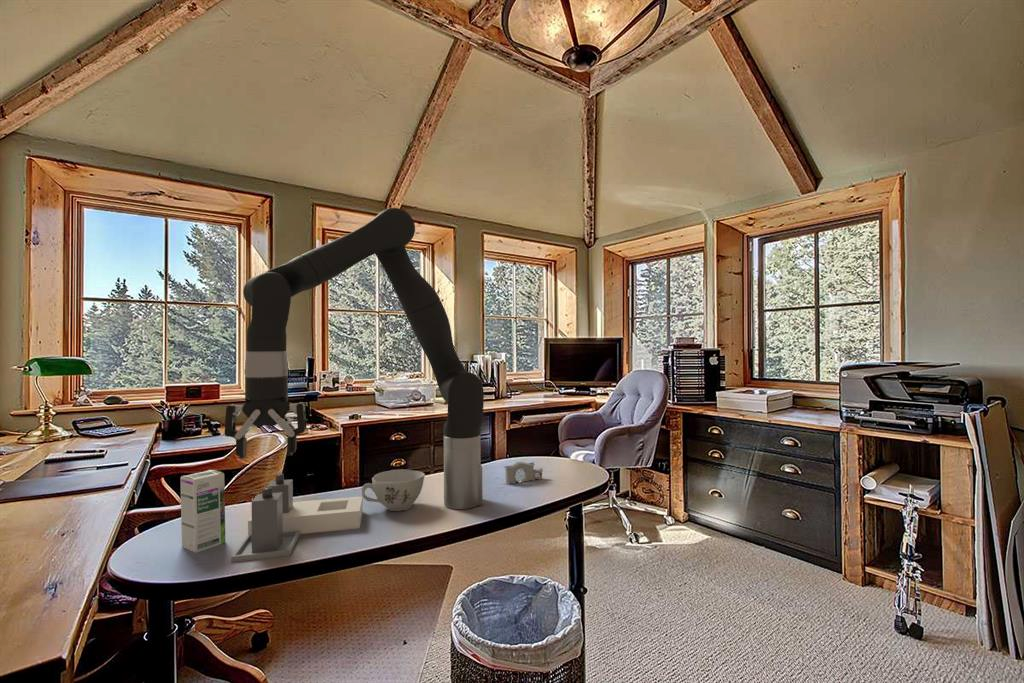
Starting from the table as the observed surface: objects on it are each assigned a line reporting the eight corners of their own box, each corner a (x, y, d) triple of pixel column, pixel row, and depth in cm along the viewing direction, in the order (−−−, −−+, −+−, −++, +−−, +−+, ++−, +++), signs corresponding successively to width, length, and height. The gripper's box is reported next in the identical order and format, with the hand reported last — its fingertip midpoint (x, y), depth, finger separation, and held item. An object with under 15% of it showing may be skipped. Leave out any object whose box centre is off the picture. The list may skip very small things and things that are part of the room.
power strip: (362, 513, 113) (362, 463, 113) (359, 529, 103) (359, 475, 103) (261, 522, 107) (260, 470, 107) (248, 540, 98) (247, 483, 98)
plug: (282, 541, 96) (282, 484, 96) (277, 550, 92) (277, 491, 92) (258, 543, 95) (257, 486, 95) (251, 553, 91) (251, 493, 91)
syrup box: (195, 554, 91) (194, 479, 91) (180, 547, 94) (180, 474, 94) (225, 543, 96) (225, 472, 96) (211, 537, 99) (210, 468, 99)
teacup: (418, 496, 125) (418, 466, 125) (430, 511, 113) (430, 478, 113) (358, 504, 119) (358, 472, 119) (364, 521, 107) (364, 486, 107)
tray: (299, 536, 100) (299, 530, 100) (289, 556, 90) (289, 550, 90) (247, 541, 97) (247, 535, 97) (231, 563, 88) (231, 556, 88)
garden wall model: (540, 478, 141) (540, 458, 141) (543, 479, 139) (543, 459, 139) (504, 483, 136) (504, 463, 136) (506, 485, 134) (506, 464, 134)
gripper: (308, 372, 99) (308, 450, 99) (233, 373, 96) (232, 454, 96) (302, 375, 92) (301, 458, 92) (219, 376, 88) (219, 463, 88)
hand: (266, 456), depth 94 cm, fingers open, 8 cm apart
